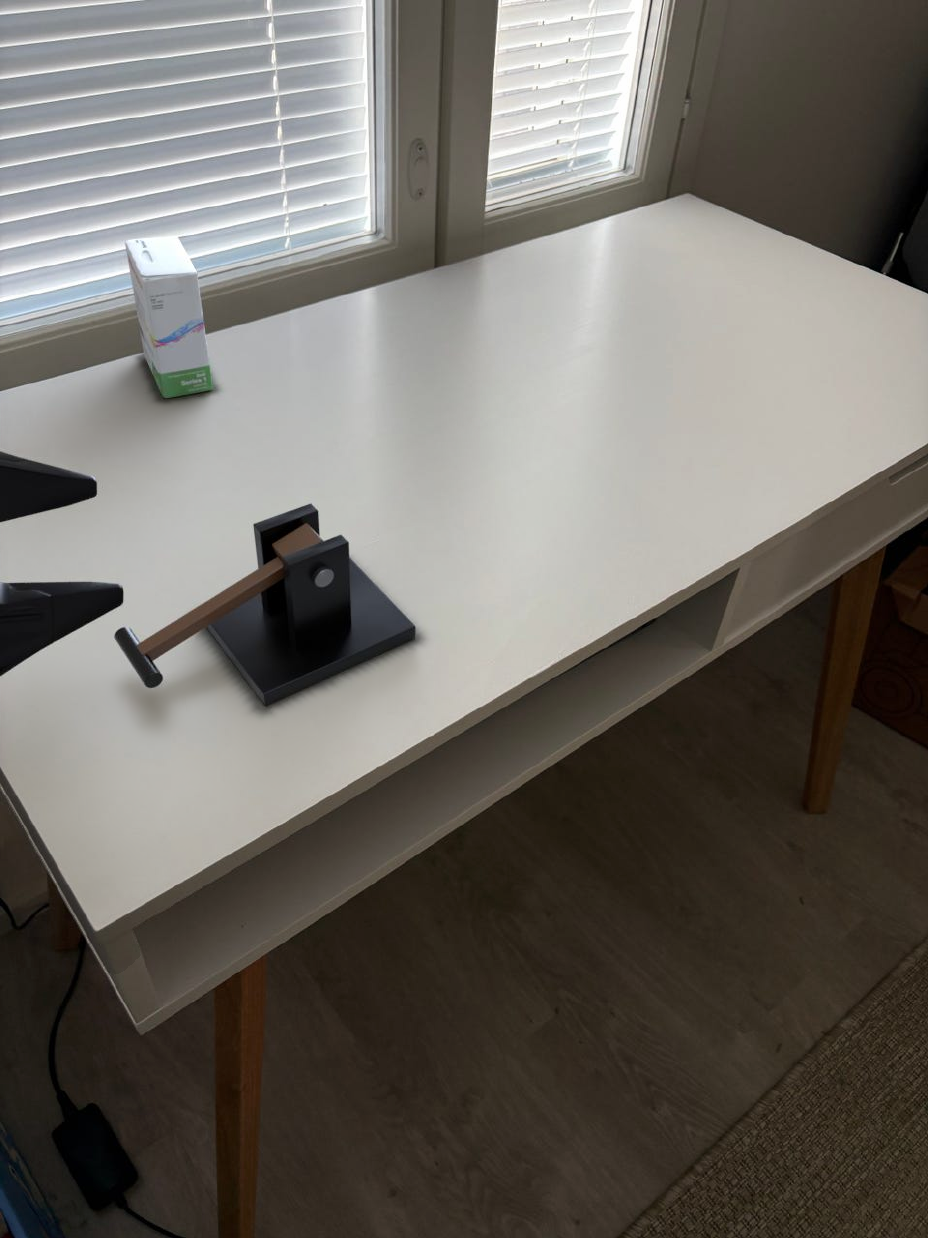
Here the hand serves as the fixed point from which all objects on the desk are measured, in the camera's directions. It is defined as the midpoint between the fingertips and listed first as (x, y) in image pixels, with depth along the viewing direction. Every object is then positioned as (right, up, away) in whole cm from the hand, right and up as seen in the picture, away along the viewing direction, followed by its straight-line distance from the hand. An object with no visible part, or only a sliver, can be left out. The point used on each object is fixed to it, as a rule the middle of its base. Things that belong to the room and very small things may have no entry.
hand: (109, 537), depth 52 cm
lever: (+3, -4, +16) cm, 16 cm away
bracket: (+7, -5, +21) cm, 23 cm away
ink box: (-9, +19, +46) cm, 50 cm away
